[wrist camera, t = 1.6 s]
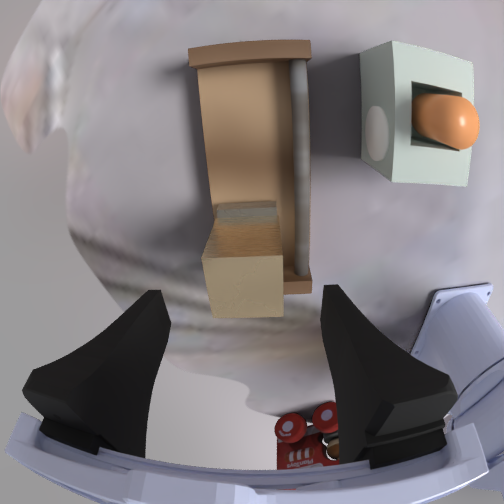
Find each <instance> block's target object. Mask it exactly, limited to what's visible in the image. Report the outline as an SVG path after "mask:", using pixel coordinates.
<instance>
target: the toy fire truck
mask: <svg viewBox="0 0 504 504" xmlns="http://www.w3.org/2000/svg"><path fill="white" fill-rule="evenodd" d="M312 422H313V425H310V426H307V423H306V420H305V419H304V418H303V417H301V416H300V415H299V414H296V413H289V414H286V415H284V416H282V417H281V418H280V419H279V420H278V421H277V423H276V425H275V434H276V436H277V470H287V469H303V468H315V467H324V466H333V465H339V437H338V420H337V408H336V403H335V402H327V403H324V404H322V405H321V406H319V407H318V408H317V409H316V410H315V412H314V414H313V417H312ZM323 438H324V442H325V443H328V445H327V446H325V445H324V444H323V443H322V440H323ZM326 450H327V454H328V455H329V456H330V457H331V458H332V459H336V460H330V459H329V458H328V457H327V454H326ZM276 490H296V489H276Z"/></svg>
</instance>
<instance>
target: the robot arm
mask: <svg viewBox="0 0 504 504" xmlns="http://www.w3.org/2000/svg"><path fill="white" fill-rule="evenodd" d="M492 290H493V285H492V284H491V283H490V284H483V285H476V286H469V287H462V288H454V289H446V290H439V291H437V292H436V293H435V294H434V297H433V300H432V302H431V305H430V308H429V311H428V313H427V316H426V318H425V321H424V324H423V326H422V328H421V331H420V333H419V336H418V338H417V340H416V343H415V345H414V347H413V349H412V352H411V354H408V353H407V352H406V351H404V350H403V349H401V348H400V347H398V346H397V345H396V344H394V343H393V342H392V341H391V340H389V339H388V338H387V337H386V336H385V335H383V334H382V333H381V332H380V331H379V330H378V329H377V328H376V327H375V326H374V325H373V324H372V323H371V322H370V321H369V320H368V319H367V318H366V317H365V316H364V315H363V314H362V313H361V311H360V310H359V309H358V308H357V307H356V306H355V305H354V304H353V302H352V301H351V300H350V299H349V297H348V296H347V295H346V294H345V293H344V291H343V290H342V289H341V287H340V286H339V285H338V284H336V285H324V289H323V299H322V309H321V318H320V321H321V330H322V337H323V343H324V347H325V351H326V355H327V359H328V363H329V367H330V371H331V375H332V379H333V384H334V390H335V399H336V408H337V420H338V437H339V465H333V466H324V467H315V468H303V469H287V470H232V469H217V468H205V467H196V466H187V465H180V464H173V463H167V462H161V461H156V460H150V459H146V458H145V449H146V431H147V421H148V413H149V406H150V401H151V395H152V390H153V386H154V382H155V378H156V375H157V372H158V369H159V366H160V363H161V360H162V357H163V354H164V351H165V348H166V345H167V342H168V337H169V332H170V327H171V321H170V318H169V315H168V312H167V309H166V305H165V302H164V299H163V296H162V293H161V290H148V291H147V292H146V293H145V294H143V295H142V296H141V297H140V298H139V299H138V300H137V301H136V302H135V303H134V304H133V305H132V306H131V307H130V308H129V309H127V310H126V311H125V312H124V313H123V314H122V315H121V316H120V317H119V318H118V319H117V320H115V321H114V322H113V323H112V324H111V325H110V326H108V327H107V328H106V329H105V330H104V331H103V332H101V333H100V334H99V335H97V336H96V337H95V338H93V339H92V340H90V341H89V342H88V343H86V344H85V345H83V346H81V347H80V348H78V349H76V350H75V351H73V352H72V353H70V354H68V355H66V356H64V357H62V358H60V359H58V360H56V361H54V362H52V363H50V364H47V365H44V366H42V367H39V368H37V369H34V370H33V371H32V372H31V374H30V376H29V378H28V380H27V382H26V384H25V385H24V387H23V389H22V391H23V394H24V396H25V398H26V399H27V400H28V401H29V403H31V405H32V406H33V407H34V408H35V409H36V410H37V411H38V412H39V413H40V414H41V415H43V417H44V419H43V421H42V422H41V421H40V420H38V419H37V418H35V417H32V416H30V415H28V414H26V413H23V412H21V414H20V416H19V418H18V421H17V423H16V425H15V427H14V430H13V432H12V434H11V436H10V439H9V441H8V443H7V446H6V449H5V453H7V454H8V455H9V456H11V457H12V458H13V459H15V460H16V461H18V462H19V463H21V464H22V465H24V466H25V467H27V468H28V469H30V470H31V471H33V472H35V473H36V474H38V475H40V476H42V477H43V478H45V479H47V480H49V481H51V482H53V483H55V484H57V485H59V486H61V487H63V488H65V489H68V490H70V491H72V492H74V493H76V494H78V495H81V496H83V497H85V498H88V499H90V500H93V501H95V502H98V503H100V504H427V503H429V502H431V501H434V500H437V499H439V498H442V497H444V496H446V495H449V494H451V493H453V492H455V491H458V490H459V489H461V488H463V487H465V486H467V485H468V484H469V485H470V487H472V488H476V489H484V490H494V491H500V492H501V493H502V496H503V499H504V454H502V455H500V456H497V455H499V454H500V453H502V452H503V451H504V329H503V328H502V326H501V325H500V323H499V322H498V320H497V319H496V318H495V316H494V315H493V313H492V312H491V310H490V309H489V308H488V306H487V305H486V304H487V302H488V300H489V297H490V295H491V293H492ZM446 414H450V415H452V418H451V419H450V420H449V422H448V425H447V431H446V434H445V435H444V432H443V429H442V428H444V427H445V422H444V419H443V418H444V416H445V415H446ZM276 489H296V490H276Z"/></svg>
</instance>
